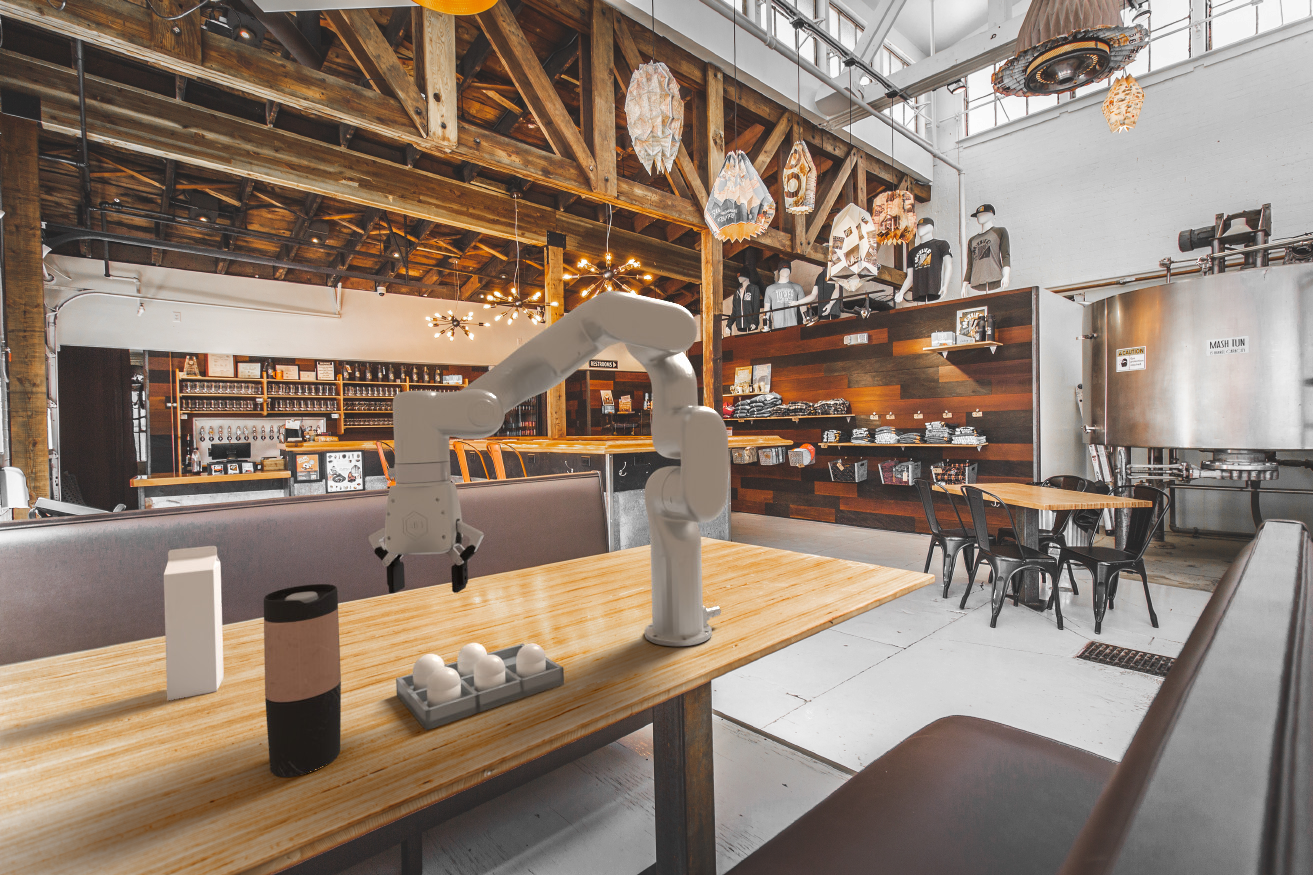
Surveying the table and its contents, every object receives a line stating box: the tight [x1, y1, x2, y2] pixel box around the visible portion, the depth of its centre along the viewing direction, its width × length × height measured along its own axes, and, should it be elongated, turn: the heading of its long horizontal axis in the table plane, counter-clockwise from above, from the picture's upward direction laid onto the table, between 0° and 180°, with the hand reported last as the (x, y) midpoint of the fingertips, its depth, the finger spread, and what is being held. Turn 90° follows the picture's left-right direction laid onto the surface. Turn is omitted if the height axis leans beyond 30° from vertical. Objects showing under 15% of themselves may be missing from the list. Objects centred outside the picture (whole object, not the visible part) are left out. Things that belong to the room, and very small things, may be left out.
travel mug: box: [263, 583, 342, 778], centre depth 68 cm, size 8×8×20 cm
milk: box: [163, 545, 225, 701], centre depth 88 cm, size 6×6×22 cm
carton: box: [395, 642, 565, 731], centre depth 85 cm, size 20×14×6 cm
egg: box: [412, 653, 446, 691], centre depth 84 cm, size 4×4×5 cm
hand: (428, 590), depth 84 cm, fingers open, 9 cm apart
